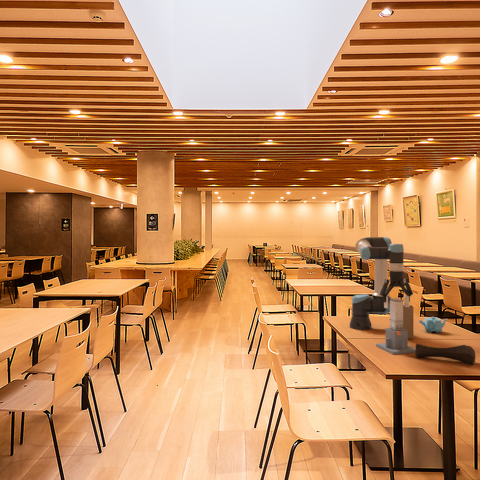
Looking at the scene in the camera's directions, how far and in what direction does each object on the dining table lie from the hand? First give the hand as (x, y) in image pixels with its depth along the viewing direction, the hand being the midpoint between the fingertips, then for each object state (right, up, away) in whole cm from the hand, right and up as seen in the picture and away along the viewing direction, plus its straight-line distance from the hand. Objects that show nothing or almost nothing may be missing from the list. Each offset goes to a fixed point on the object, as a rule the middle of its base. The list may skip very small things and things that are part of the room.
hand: (396, 307), depth 213 cm
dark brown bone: (+17, -25, -20) cm, 36 cm away
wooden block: (+17, -24, +27) cm, 40 cm away
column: (0, -22, 0) cm, 22 cm away
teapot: (+42, -24, +41) cm, 63 cm away
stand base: (0, -24, 0) cm, 24 cm away
